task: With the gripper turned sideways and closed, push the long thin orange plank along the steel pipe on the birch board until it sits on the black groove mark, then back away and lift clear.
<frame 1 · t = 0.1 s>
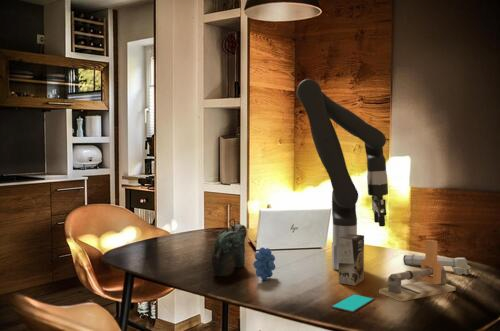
hand: (379, 224, 194), 17 cm above the table, tool pointing down, fingers open, 8 cm apart
dark green backpack: (230, 271, 192), on the table
toothbrush head: (435, 270, 194), on the table
smartphone: (353, 305, 154), on the table
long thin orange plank: (431, 261, 168), point 10 cm above the table, slide at 0.0 cm
grapes: (266, 280, 179), on the table
coffee box: (351, 281, 177), on the table
pipe stand: (417, 291, 165), on the table
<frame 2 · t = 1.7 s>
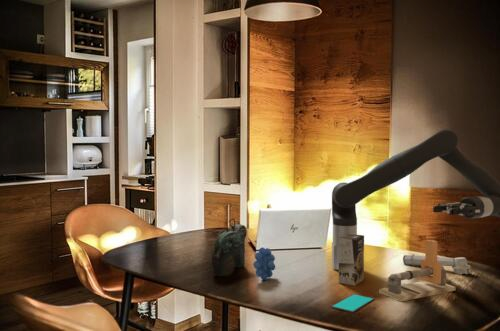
hand: (442, 210, 169), 26 cm above the table, tool horizontal, fingers open, 6 cm apart
nothing on the table moved.
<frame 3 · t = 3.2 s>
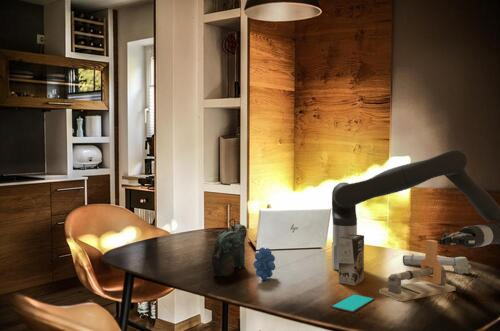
hand: (440, 241, 169), 16 cm above the table, tool horizontal, fingers closed
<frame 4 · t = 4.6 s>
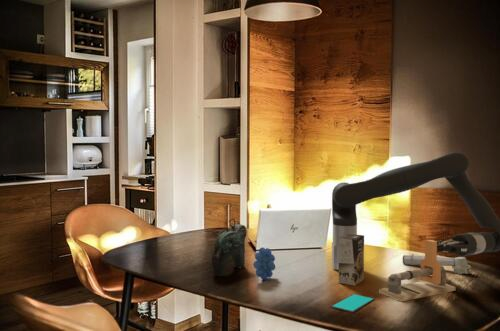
hand: (433, 249, 168), 13 cm above the table, tool horizontal, fingers closed
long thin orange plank: (430, 261, 167), point 10 cm above the table, slide at -0.3 cm, touching gripper
everything else where it was.
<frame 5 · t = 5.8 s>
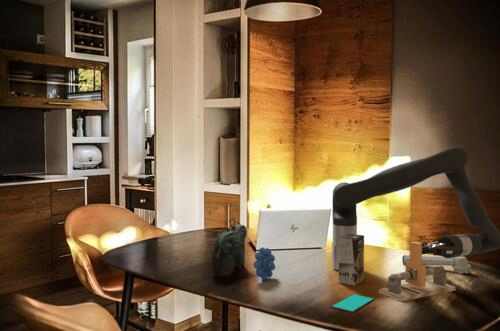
hand: (417, 251, 165), 13 cm above the table, tool horizontal, fingers closed
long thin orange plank: (415, 263, 164), point 10 cm above the table, slide at -7.1 cm, touching gripper
everything else where it was.
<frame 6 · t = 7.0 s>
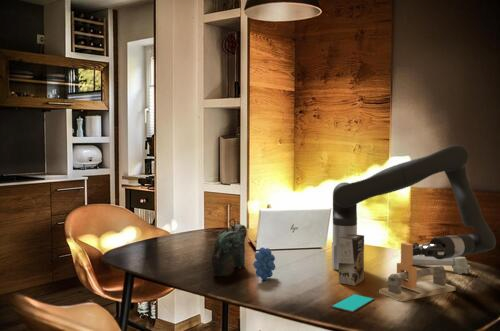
hand: (409, 252, 163), 13 cm above the table, tool horizontal, fingers closed
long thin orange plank: (406, 264, 163), point 10 cm above the table, slide at -11.0 cm, touching gripper
everything else where it was.
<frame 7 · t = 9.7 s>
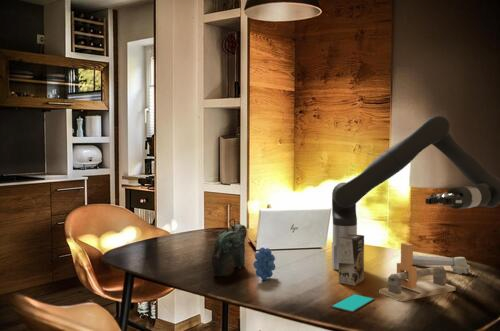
hand: (427, 201, 166), 30 cm above the table, tool horizontal, fingers closed
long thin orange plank: (406, 264, 163), point 10 cm above the table, slide at -11.0 cm
everything else where it was.
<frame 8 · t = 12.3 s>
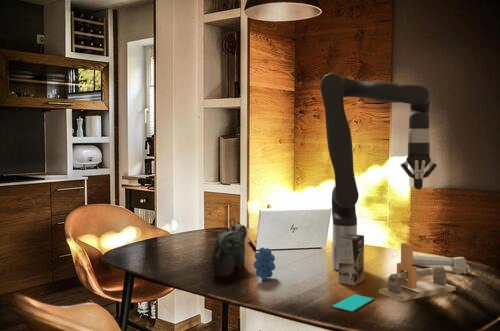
hand: (418, 189, 182), 32 cm above the table, tool pointing down, fingers closed
nothing on the table moved.
at the end: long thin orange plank slide at -11.0 cm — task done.
